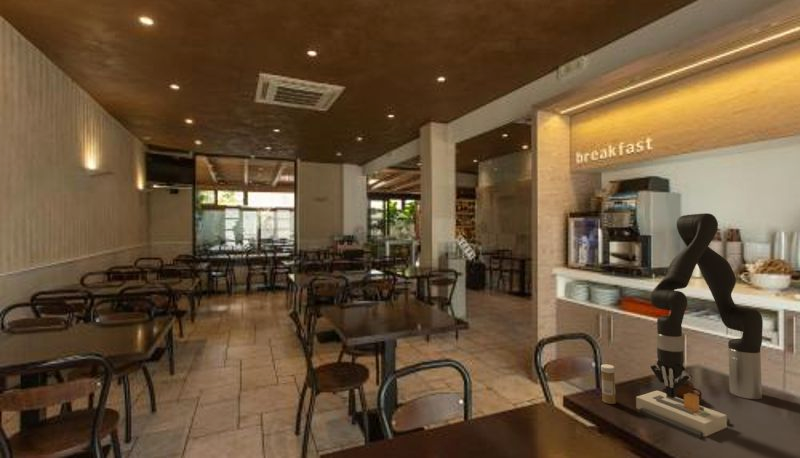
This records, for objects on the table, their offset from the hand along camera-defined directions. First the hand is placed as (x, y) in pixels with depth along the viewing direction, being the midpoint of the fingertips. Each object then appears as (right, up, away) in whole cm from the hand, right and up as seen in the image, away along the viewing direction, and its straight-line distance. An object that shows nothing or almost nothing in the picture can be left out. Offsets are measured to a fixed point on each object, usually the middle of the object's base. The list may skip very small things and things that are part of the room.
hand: (671, 397), depth 135 cm
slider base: (+1, -6, -2) cm, 6 cm away
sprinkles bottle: (-16, -7, +11) cm, 20 cm away
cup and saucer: (+12, -6, +12) cm, 18 cm away
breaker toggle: (+3, -2, -6) cm, 7 cm away
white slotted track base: (+2, -6, -3) cm, 7 cm away
